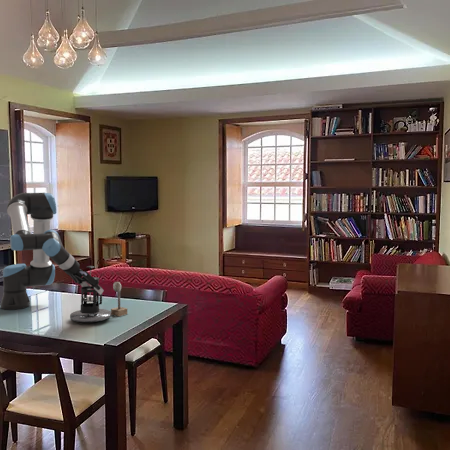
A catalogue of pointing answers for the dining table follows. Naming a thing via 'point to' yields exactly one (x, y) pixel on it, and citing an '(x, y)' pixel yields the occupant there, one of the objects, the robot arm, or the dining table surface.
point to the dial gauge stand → (119, 310)
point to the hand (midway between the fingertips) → (95, 291)
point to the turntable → (90, 316)
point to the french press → (90, 298)
